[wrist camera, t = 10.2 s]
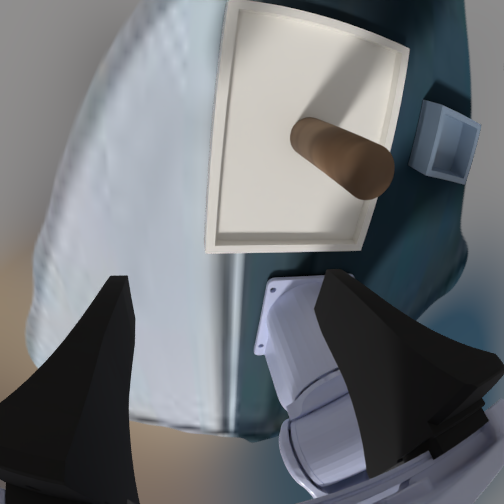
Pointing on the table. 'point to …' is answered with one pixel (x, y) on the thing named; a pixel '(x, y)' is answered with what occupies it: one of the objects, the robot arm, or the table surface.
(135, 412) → the table surface
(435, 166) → the grey square dish
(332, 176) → the dowel
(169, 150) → the table surface
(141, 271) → the table surface
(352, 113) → the tray
